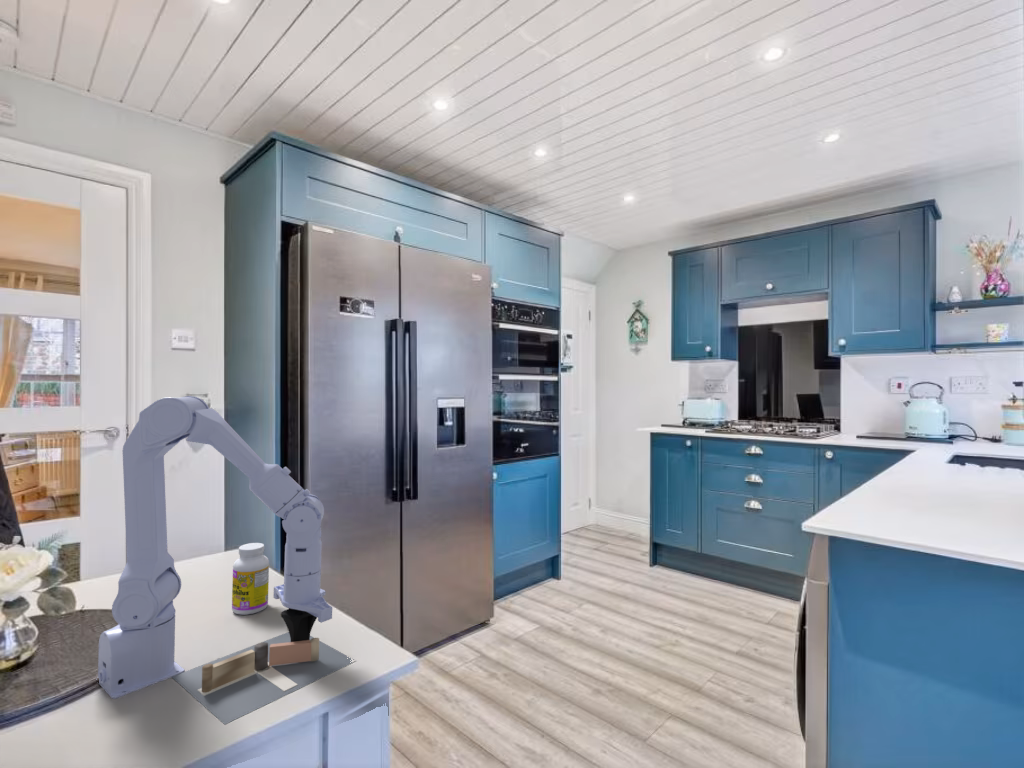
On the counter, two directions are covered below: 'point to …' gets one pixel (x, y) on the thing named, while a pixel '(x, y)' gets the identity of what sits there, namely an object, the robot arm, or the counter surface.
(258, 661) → the base
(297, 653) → the pink slab
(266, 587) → the supplement bottle
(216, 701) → the board
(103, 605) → the counter surface
